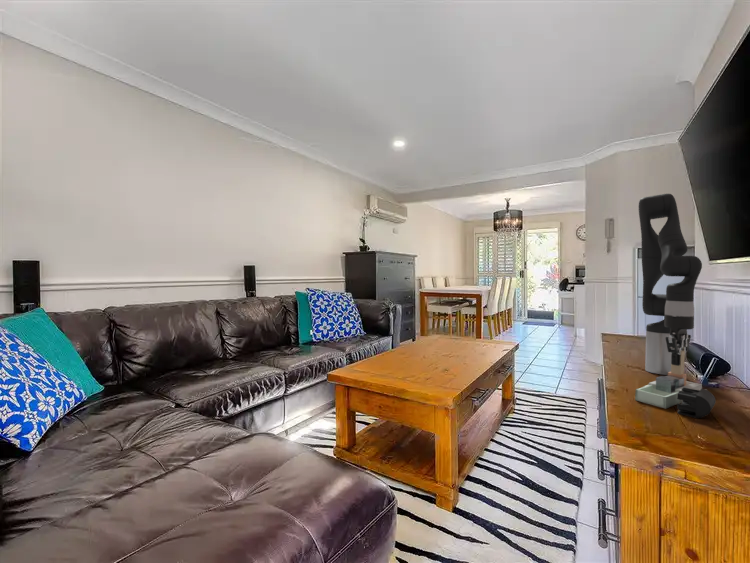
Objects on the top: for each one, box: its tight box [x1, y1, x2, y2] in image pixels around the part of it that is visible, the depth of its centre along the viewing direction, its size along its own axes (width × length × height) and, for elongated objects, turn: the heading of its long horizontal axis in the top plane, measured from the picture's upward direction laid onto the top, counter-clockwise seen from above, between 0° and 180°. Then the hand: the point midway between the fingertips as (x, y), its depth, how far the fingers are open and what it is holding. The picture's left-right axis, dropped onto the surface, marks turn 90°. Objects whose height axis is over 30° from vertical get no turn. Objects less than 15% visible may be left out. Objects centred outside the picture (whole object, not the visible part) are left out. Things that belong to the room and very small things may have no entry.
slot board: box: [643, 380, 707, 404], centre depth 116 cm, size 15×12×4 cm
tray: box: [634, 384, 681, 409], centre depth 110 cm, size 10×8×4 cm
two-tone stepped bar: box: [667, 350, 688, 386], centre depth 117 cm, size 3×4×12 cm
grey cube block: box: [663, 375, 684, 389], centre depth 114 cm, size 4×4×4 cm
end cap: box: [676, 388, 716, 419], centre depth 100 cm, size 10×7×7 cm
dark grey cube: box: [655, 375, 676, 393], centre depth 113 cm, size 4×4×4 cm
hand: (677, 364), depth 116 cm, fingers closed on two-tone stepped bar, 2 cm apart
